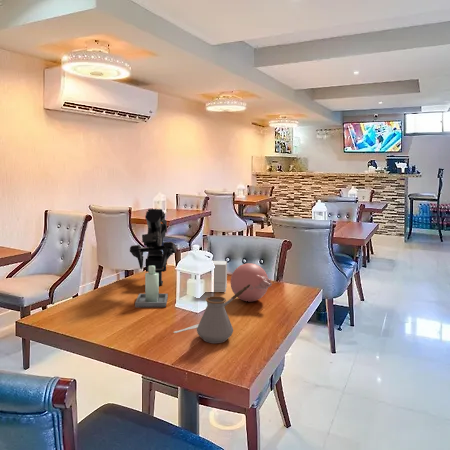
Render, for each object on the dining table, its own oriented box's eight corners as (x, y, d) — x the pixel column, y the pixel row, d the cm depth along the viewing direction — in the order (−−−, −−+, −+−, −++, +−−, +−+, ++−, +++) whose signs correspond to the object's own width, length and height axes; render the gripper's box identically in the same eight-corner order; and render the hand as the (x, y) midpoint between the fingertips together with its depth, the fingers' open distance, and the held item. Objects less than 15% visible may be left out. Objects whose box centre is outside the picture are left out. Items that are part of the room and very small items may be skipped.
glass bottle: (143, 299, 163) (143, 265, 161) (155, 298, 166) (155, 264, 164) (148, 303, 159) (148, 268, 157) (160, 301, 162) (160, 266, 160)
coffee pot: (212, 349, 122) (213, 300, 119) (189, 337, 130) (189, 291, 128) (262, 331, 136) (263, 287, 134) (238, 321, 144) (239, 280, 142)
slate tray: (139, 297, 168) (139, 293, 167) (167, 297, 168) (167, 293, 168) (135, 307, 156) (135, 302, 156) (165, 307, 157) (165, 302, 157)
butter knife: (205, 326, 139) (200, 323, 141) (141, 343, 124) (136, 340, 126) (205, 327, 139) (200, 324, 141) (141, 345, 124) (136, 341, 126)
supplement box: (226, 288, 184) (227, 260, 182) (225, 293, 176) (226, 264, 174) (210, 287, 184) (211, 260, 182) (208, 292, 177) (208, 263, 175)
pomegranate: (252, 313, 153) (253, 272, 151) (222, 298, 169) (223, 261, 167) (283, 306, 161) (285, 268, 159) (252, 292, 178) (253, 258, 176)
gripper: (126, 227, 171) (122, 261, 164) (169, 222, 169) (168, 257, 161) (135, 240, 181) (132, 272, 173) (177, 235, 179) (175, 268, 171)
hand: (151, 267), depth 169 cm, fingers open, 9 cm apart
